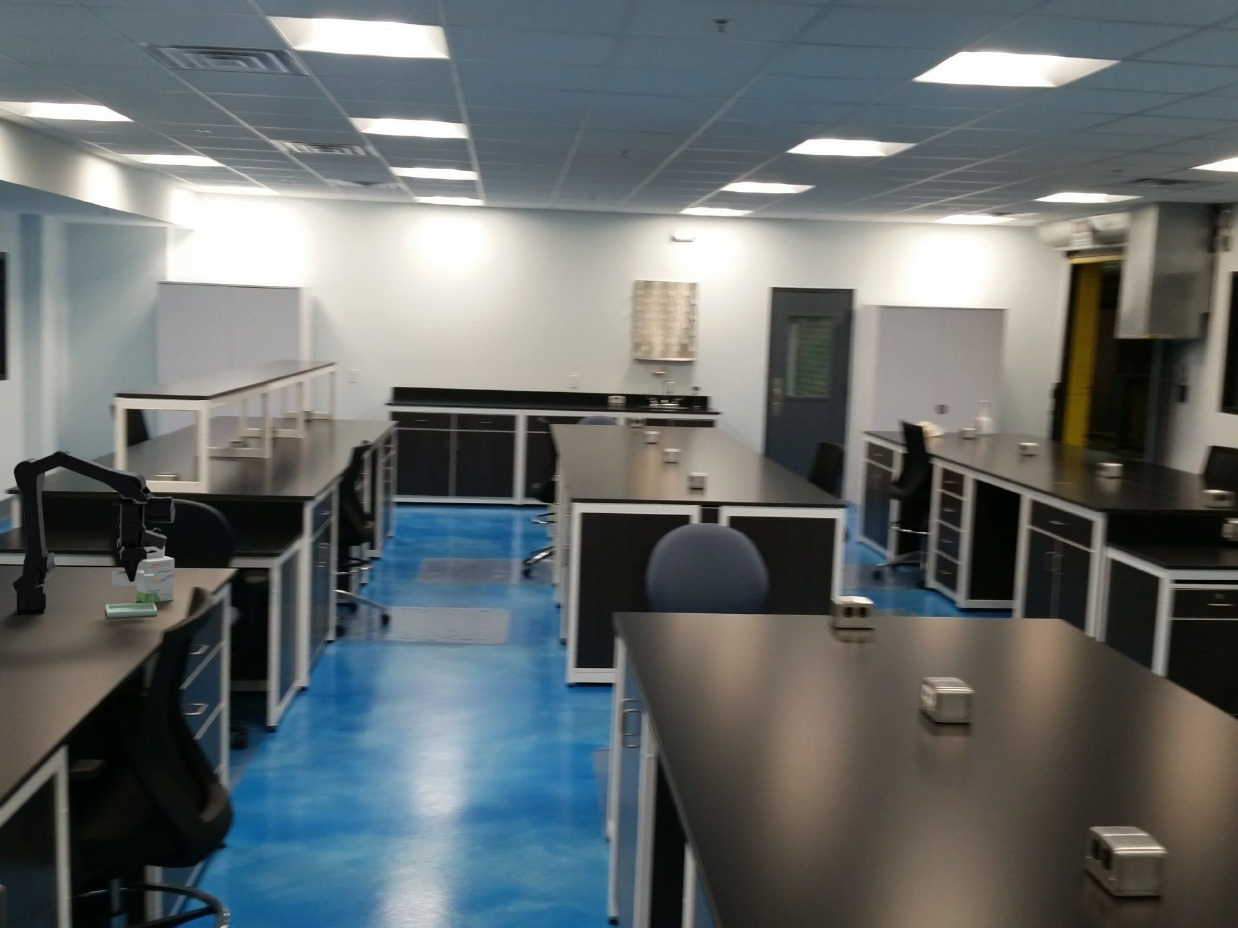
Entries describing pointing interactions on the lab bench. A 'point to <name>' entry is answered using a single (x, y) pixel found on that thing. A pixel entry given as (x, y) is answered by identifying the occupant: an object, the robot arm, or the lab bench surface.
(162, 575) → the ink box
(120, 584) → the connector
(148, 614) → the tray
